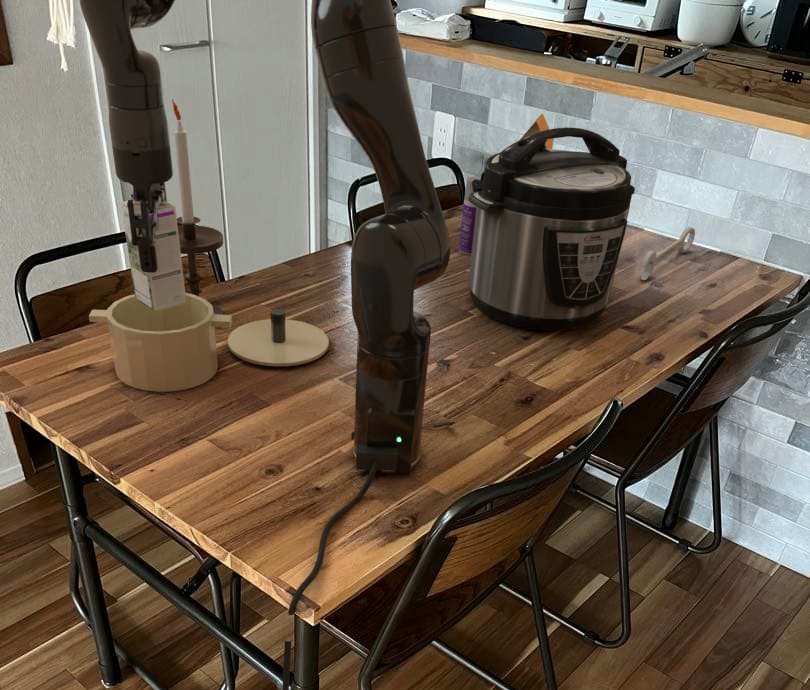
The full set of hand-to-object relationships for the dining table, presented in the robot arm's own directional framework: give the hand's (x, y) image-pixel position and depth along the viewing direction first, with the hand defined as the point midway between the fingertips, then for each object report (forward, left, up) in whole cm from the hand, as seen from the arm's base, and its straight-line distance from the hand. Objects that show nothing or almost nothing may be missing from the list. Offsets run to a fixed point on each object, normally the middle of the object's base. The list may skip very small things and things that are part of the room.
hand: (155, 260), depth 123 cm
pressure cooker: (+30, -65, -17) cm, 74 cm away
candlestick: (+19, -2, -17) cm, 26 cm away
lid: (+9, -17, -17) cm, 25 cm away
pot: (0, 0, -17) cm, 17 cm away
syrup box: (0, 0, -6) cm, 6 cm away
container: (+59, -55, -17) cm, 83 cm away
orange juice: (+97, -74, -17) cm, 123 cm away
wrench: (+56, -98, -17) cm, 114 cm away
